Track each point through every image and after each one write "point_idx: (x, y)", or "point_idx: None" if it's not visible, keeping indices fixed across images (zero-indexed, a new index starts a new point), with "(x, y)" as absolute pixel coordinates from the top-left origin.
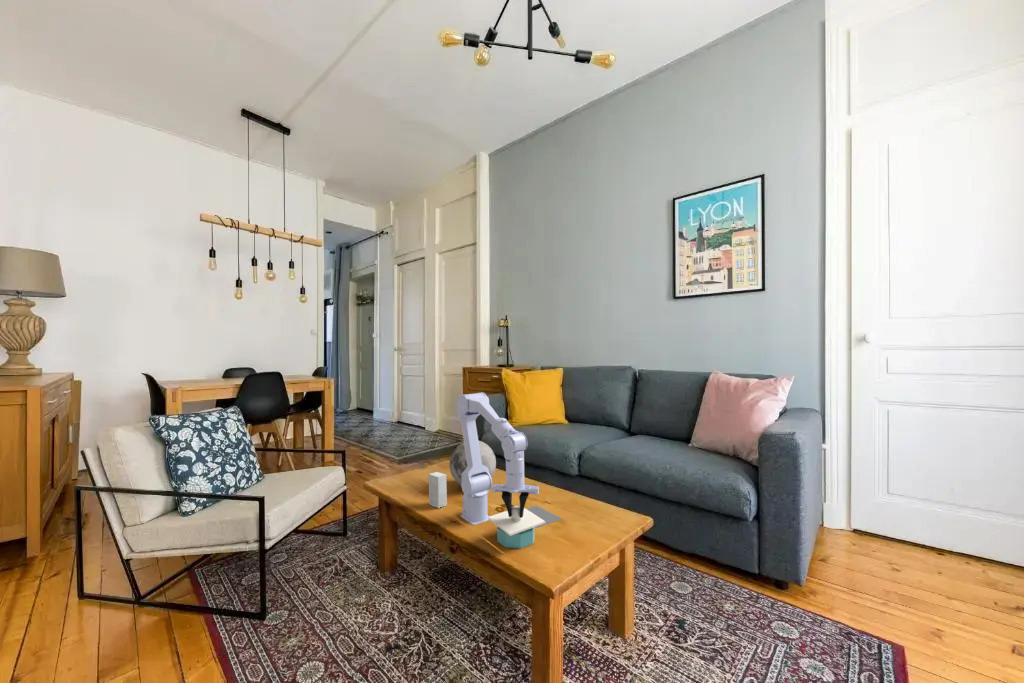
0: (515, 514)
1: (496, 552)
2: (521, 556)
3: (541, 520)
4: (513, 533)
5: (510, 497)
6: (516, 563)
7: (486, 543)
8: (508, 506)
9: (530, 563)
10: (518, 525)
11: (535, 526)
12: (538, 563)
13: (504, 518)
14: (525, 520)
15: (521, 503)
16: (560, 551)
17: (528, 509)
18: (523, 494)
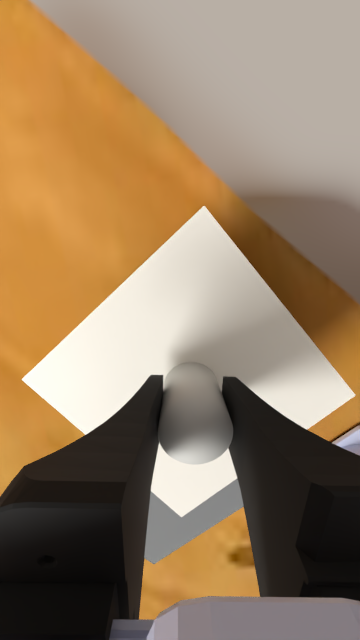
0: (192, 382)
1: (253, 233)
2: (147, 212)
3: (45, 385)
4: (183, 225)
5: (269, 528)
6: (158, 146)
7: (300, 301)
8: (261, 414)
9: (99, 155)
10: (166, 317)
11: (72, 331)
12: (66, 159)
13: (258, 387)
14: (135, 377)
15: (124, 433)
16: (3, 274)
17: (175, 539)
18: (68, 586)
